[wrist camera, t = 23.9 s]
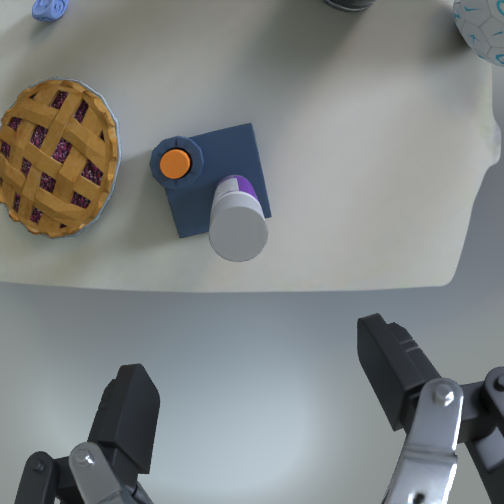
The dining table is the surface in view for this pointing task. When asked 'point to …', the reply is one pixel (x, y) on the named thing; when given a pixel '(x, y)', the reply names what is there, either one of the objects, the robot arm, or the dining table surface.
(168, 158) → the button
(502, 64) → the puzzle ball
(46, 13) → the decorative dice
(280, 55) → the dining table surface
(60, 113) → the pie
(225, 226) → the container
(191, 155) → the scale
